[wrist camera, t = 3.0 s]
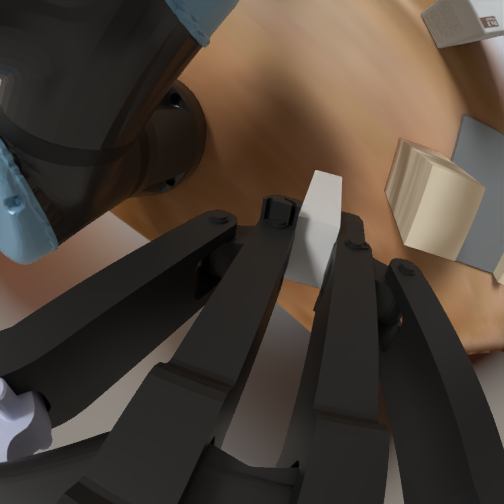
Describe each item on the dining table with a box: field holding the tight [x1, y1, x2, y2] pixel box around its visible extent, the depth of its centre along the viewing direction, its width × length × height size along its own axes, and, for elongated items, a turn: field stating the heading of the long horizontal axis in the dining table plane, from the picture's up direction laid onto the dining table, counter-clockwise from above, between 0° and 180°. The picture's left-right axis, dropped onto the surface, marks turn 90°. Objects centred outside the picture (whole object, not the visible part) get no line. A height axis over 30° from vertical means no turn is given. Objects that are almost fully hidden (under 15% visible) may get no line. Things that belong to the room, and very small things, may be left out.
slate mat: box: [451, 114, 504, 284], centre depth 24 cm, size 13×16×3 cm
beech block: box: [384, 138, 486, 261], centre depth 22 cm, size 4×6×12 cm
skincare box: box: [421, 0, 504, 49], centre depth 13 cm, size 6×4×12 cm
